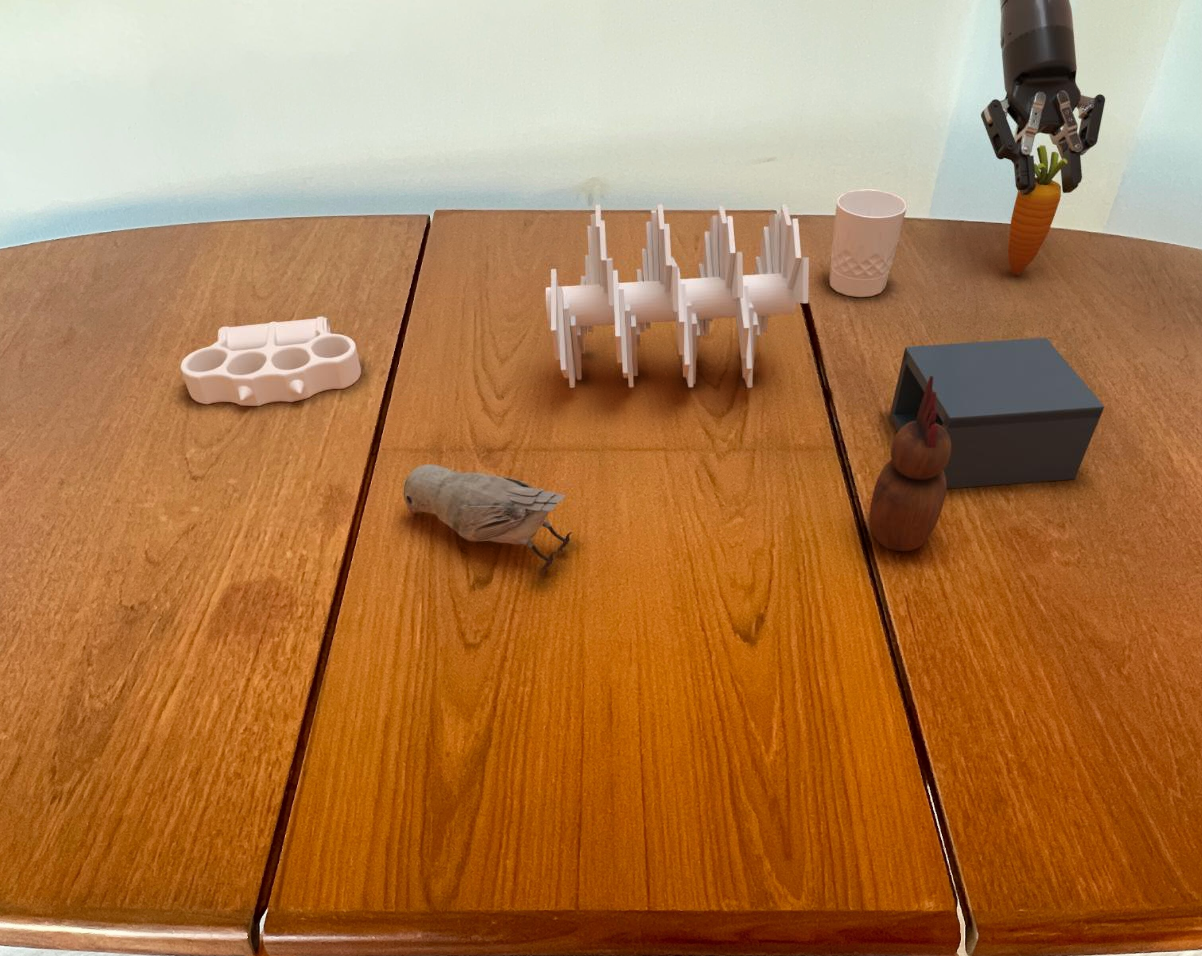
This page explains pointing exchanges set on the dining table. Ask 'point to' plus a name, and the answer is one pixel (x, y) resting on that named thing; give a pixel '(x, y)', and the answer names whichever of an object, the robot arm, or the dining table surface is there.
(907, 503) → the wooden figurine
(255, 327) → the white brass knuckles
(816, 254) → the dining table surface
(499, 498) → the decorative bird
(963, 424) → the shelf
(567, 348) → the spiral staircase
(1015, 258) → the carrot
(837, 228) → the white cup
